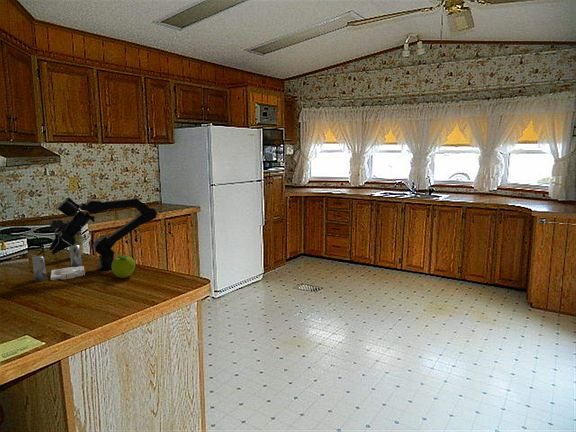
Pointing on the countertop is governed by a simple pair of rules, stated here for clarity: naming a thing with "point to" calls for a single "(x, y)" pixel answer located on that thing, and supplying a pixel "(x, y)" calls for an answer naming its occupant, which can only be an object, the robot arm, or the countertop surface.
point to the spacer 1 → (39, 268)
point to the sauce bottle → (79, 242)
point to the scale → (67, 273)
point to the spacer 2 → (75, 256)
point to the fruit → (123, 266)
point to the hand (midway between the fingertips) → (51, 251)
